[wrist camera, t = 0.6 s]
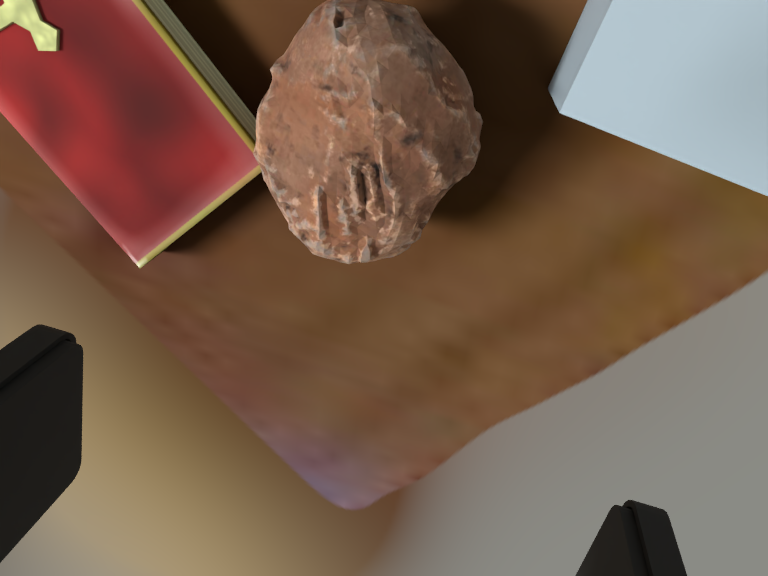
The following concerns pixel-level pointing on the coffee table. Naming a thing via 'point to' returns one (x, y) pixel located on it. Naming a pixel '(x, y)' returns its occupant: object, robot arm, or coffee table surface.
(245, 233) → the coffee table surface
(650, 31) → the cabinet
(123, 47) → the hardcover book
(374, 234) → the decorative rock
